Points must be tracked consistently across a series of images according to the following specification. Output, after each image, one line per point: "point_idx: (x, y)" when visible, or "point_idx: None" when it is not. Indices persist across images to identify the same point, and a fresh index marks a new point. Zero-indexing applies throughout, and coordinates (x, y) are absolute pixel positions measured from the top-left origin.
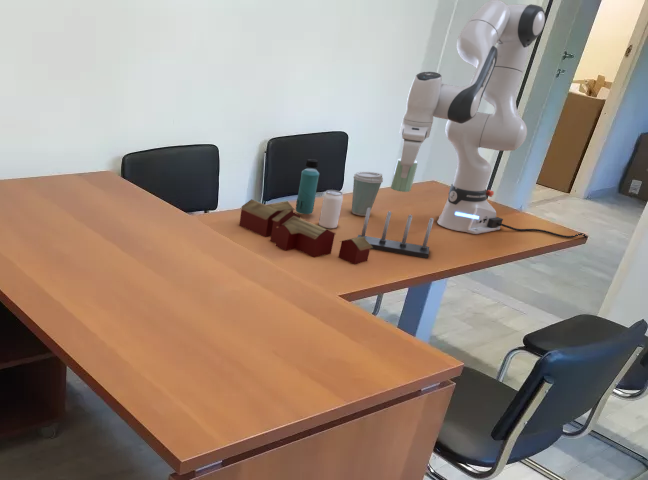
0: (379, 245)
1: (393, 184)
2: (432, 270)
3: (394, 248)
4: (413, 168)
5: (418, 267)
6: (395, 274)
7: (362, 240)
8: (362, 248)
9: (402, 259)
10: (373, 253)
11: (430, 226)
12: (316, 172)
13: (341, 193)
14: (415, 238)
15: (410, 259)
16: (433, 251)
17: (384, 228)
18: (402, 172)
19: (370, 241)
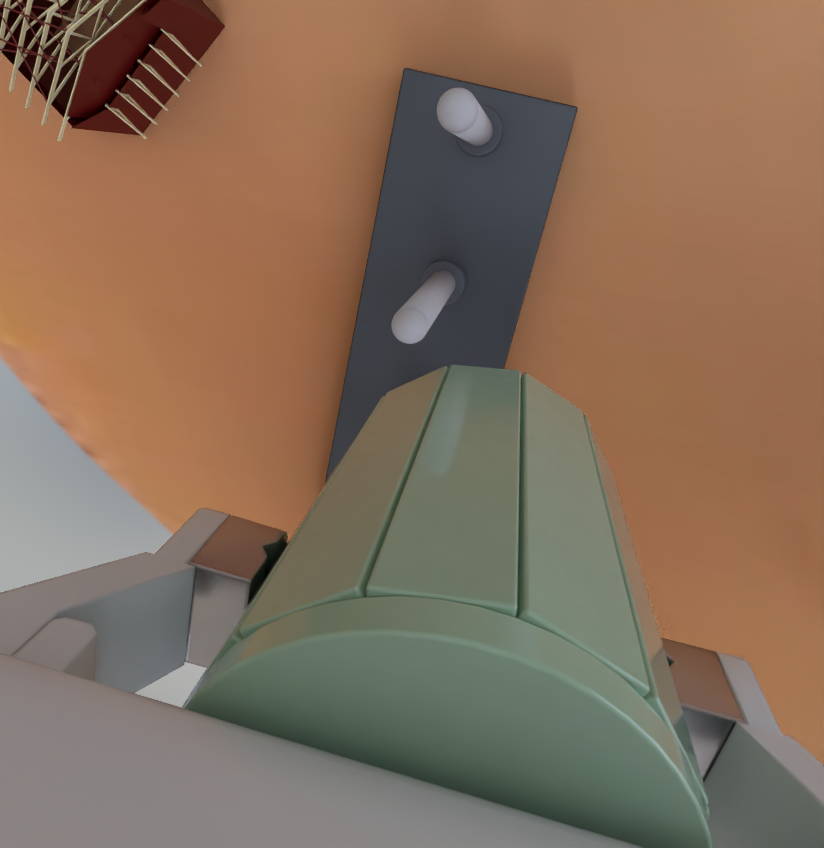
0: (370, 248)
1: (416, 394)
2: (155, 493)
3: (351, 344)
4: None
5: (167, 432)
6: (7, 282)
7: (105, 58)
8: (10, 55)
9: (257, 370)
10: (297, 199)
11: None
12: None
13: None
14: (678, 536)
15: (275, 417)
16: None
17: (421, 286)
18: (161, 559)
19: (437, 191)
